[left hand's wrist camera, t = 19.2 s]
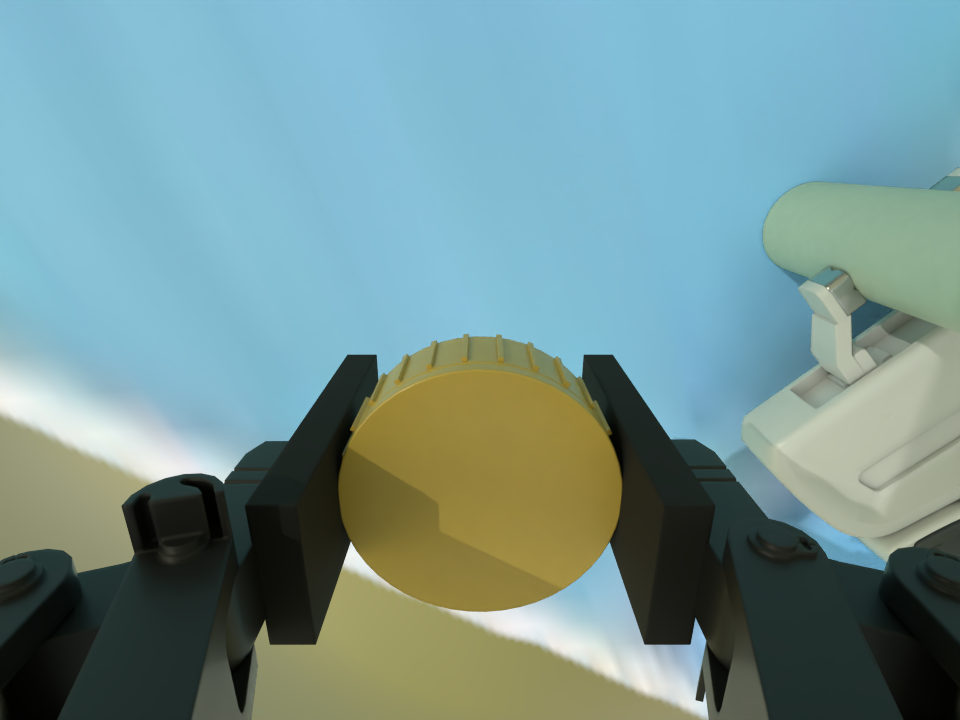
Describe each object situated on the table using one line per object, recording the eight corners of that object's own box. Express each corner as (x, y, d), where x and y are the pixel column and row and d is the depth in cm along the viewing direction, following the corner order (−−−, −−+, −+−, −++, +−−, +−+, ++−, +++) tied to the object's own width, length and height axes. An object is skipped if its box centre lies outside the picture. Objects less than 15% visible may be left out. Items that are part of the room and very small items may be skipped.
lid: (470, 276, 11) (469, 300, 9) (656, 444, 12) (687, 495, 10) (305, 457, 12) (274, 509, 10) (487, 588, 13) (488, 656, 12)
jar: (844, 267, 30) (1257, 391, 14) (758, 274, 30) (1070, 406, 14) (858, 177, 29) (1344, 202, 13) (766, 186, 29) (1130, 222, 13)
